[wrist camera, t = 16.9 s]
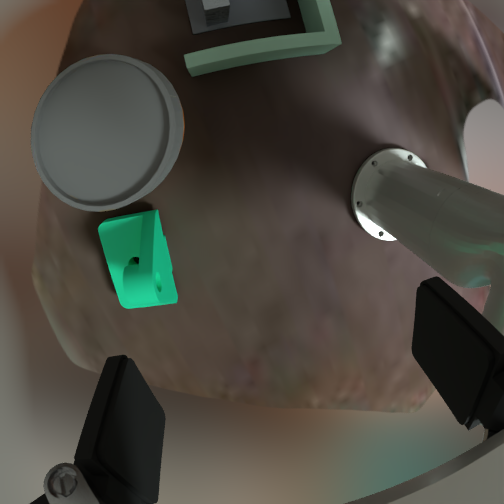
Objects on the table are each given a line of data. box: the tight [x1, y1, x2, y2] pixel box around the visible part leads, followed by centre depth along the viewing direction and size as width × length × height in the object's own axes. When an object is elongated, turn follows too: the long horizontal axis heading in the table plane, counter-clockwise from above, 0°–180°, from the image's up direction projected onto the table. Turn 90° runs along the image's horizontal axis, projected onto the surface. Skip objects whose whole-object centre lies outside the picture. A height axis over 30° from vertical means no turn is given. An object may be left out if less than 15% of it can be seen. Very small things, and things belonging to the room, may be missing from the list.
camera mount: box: [98, 209, 178, 309], centre depth 35 cm, size 12×8×10 cm, turn 7°
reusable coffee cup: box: [31, 54, 185, 212], centre depth 27 cm, size 13×12×15 cm
